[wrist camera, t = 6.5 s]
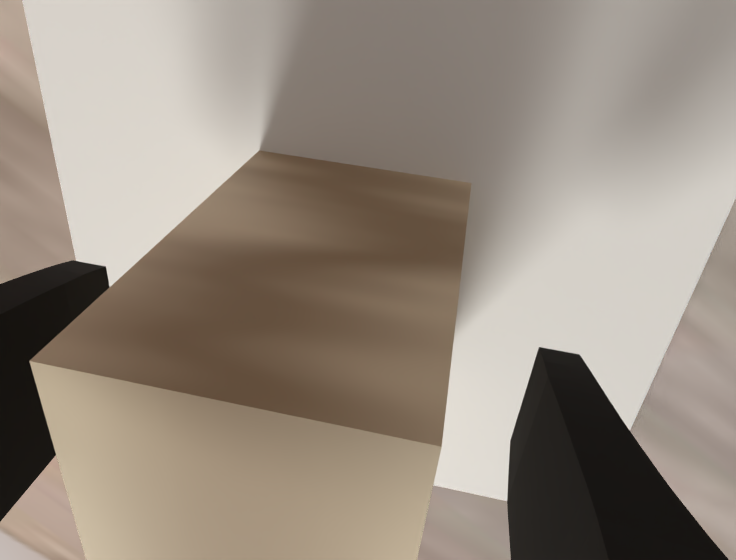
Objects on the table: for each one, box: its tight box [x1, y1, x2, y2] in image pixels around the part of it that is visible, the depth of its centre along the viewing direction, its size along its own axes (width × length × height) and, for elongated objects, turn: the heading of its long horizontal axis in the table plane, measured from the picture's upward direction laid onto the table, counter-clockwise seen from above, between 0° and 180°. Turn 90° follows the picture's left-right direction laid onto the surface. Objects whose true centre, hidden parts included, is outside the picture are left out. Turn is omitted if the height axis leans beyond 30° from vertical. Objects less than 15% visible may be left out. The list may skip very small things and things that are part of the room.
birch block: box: [29, 151, 471, 560], centre depth 10 cm, size 4×4×7 cm
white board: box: [22, 0, 736, 501], centre depth 13 cm, size 14×14×1 cm
